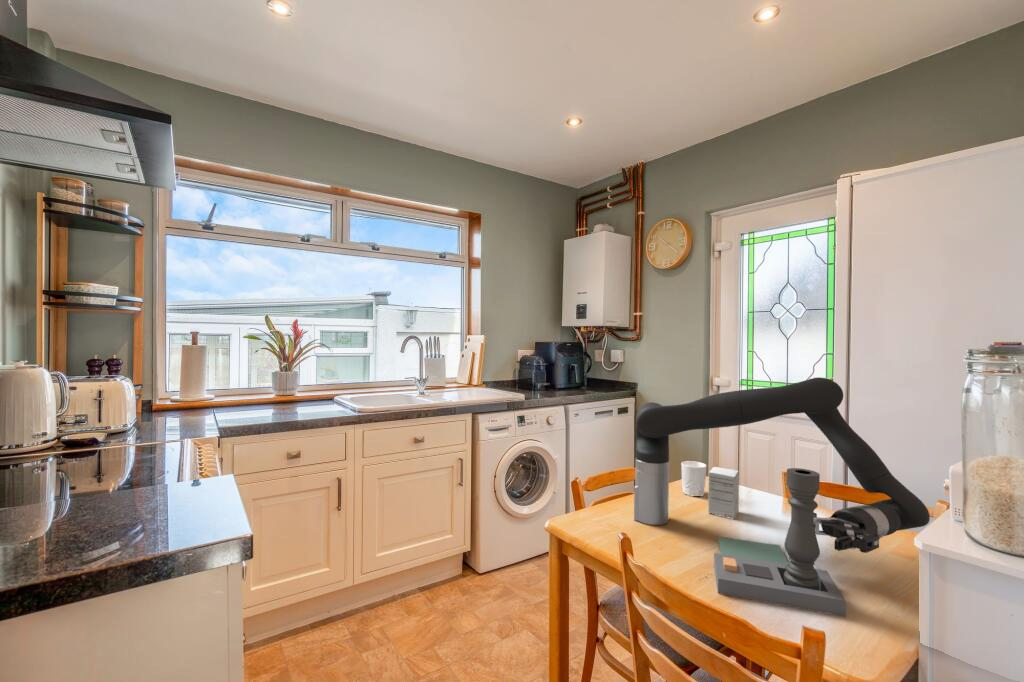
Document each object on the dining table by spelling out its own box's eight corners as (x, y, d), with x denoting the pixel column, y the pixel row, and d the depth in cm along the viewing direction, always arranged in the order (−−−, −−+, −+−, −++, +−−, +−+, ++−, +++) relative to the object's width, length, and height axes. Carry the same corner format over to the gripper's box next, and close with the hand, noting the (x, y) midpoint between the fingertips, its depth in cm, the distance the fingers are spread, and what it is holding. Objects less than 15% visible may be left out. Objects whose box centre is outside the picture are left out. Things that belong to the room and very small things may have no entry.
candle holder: (825, 604, 90) (827, 477, 90) (790, 600, 91) (792, 475, 91) (811, 587, 96) (813, 468, 96) (778, 583, 97) (780, 466, 97)
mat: (722, 561, 107) (722, 557, 107) (718, 540, 118) (718, 536, 118) (790, 572, 102) (791, 568, 102) (779, 549, 113) (779, 545, 113)
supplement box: (713, 506, 142) (713, 466, 142) (739, 512, 138) (739, 470, 138) (707, 513, 136) (707, 471, 136) (734, 519, 132) (735, 476, 132)
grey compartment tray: (718, 593, 94) (718, 572, 94) (713, 565, 105) (714, 547, 105) (845, 616, 86) (846, 594, 86) (826, 584, 97) (826, 564, 97)
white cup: (676, 490, 157) (677, 461, 157) (698, 489, 158) (699, 460, 158) (687, 498, 149) (687, 467, 149) (710, 497, 150) (711, 467, 150)
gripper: (826, 497, 109) (782, 507, 102) (898, 519, 96) (852, 532, 89) (826, 528, 109) (781, 540, 102) (897, 554, 96) (851, 570, 89)
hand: (814, 536), depth 95 cm, fingers open, 8 cm apart
